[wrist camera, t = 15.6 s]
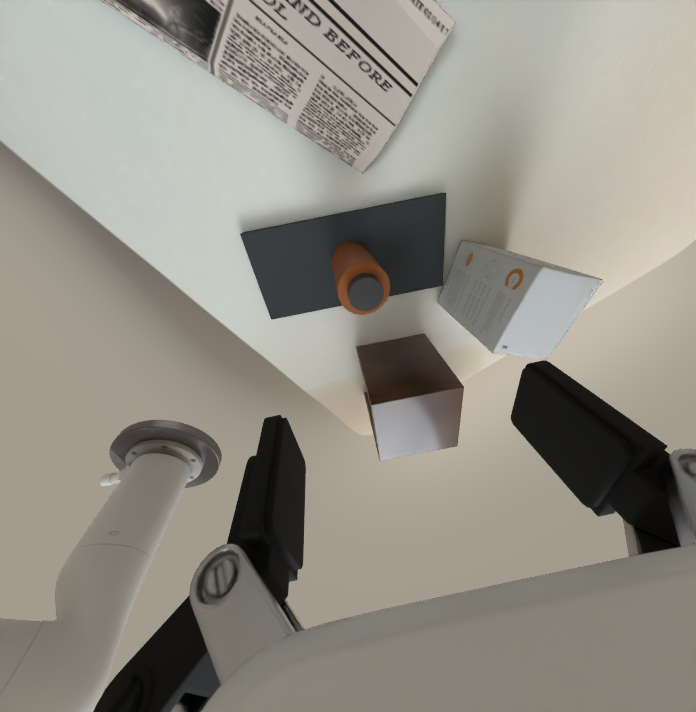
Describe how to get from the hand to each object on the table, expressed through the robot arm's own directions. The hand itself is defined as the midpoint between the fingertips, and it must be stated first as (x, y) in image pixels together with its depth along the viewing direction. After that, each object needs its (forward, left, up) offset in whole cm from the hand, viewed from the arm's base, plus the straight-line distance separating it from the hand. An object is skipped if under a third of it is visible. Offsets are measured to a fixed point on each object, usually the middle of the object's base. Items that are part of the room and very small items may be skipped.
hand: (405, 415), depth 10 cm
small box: (+15, -4, -25) cm, 29 cm away
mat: (+1, +1, -25) cm, 25 cm away
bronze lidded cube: (+4, -16, -25) cm, 30 cm away
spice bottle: (+1, +1, -24) cm, 24 cm away
